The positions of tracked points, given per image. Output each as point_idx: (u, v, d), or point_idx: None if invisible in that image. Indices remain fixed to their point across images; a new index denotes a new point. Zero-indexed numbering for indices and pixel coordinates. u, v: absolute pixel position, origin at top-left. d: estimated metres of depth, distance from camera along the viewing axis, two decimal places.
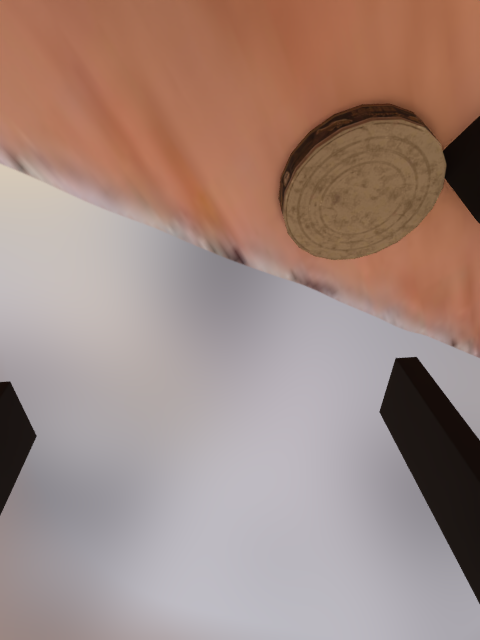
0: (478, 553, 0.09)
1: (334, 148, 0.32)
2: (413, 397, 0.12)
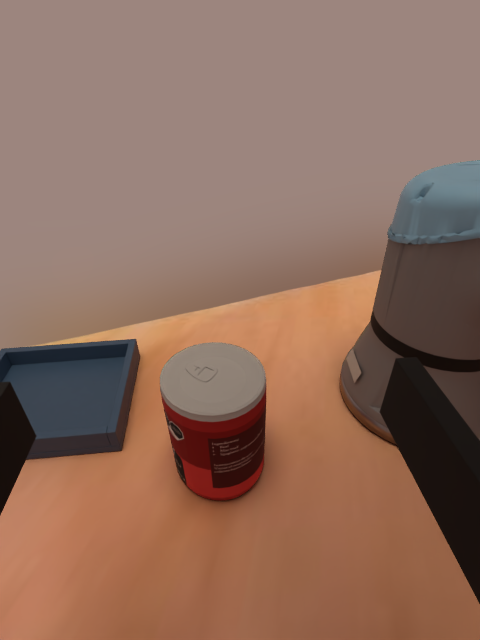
0: (478, 553, 0.09)
1: None
2: (413, 397, 0.12)
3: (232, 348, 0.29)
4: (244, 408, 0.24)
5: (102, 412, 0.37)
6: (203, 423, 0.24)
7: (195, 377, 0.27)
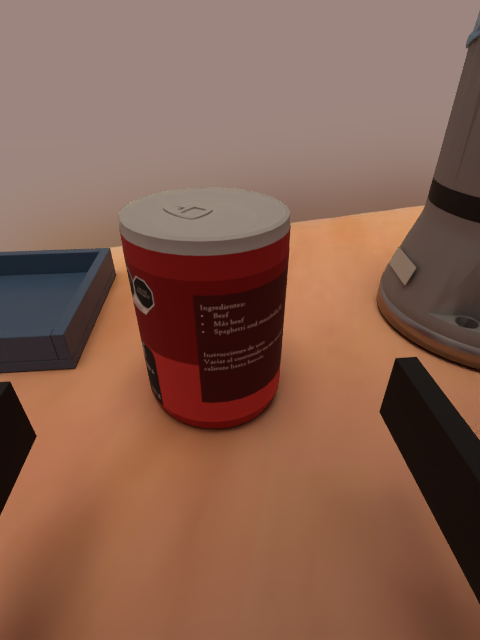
0: (478, 553, 0.09)
1: None
2: (413, 397, 0.12)
3: (236, 192, 0.19)
4: (256, 237, 0.14)
5: (54, 324, 0.27)
6: (185, 261, 0.14)
7: (176, 215, 0.17)
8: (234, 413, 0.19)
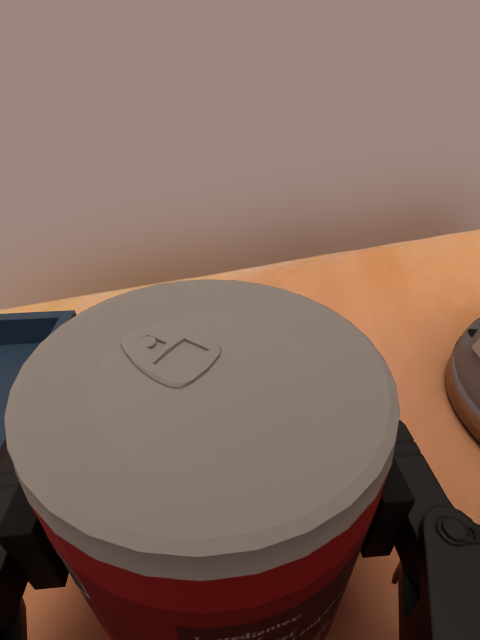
0: None
1: None
2: None
3: (264, 293, 0.10)
4: (347, 510, 0.05)
5: None
6: (153, 584, 0.05)
7: (146, 370, 0.08)
8: None
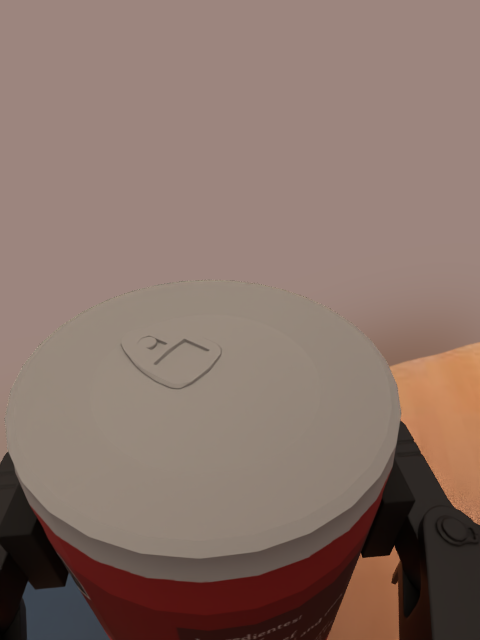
0: None
1: None
2: None
3: (264, 293, 0.10)
4: (348, 511, 0.05)
5: None
6: (155, 585, 0.05)
7: (146, 371, 0.08)
8: None
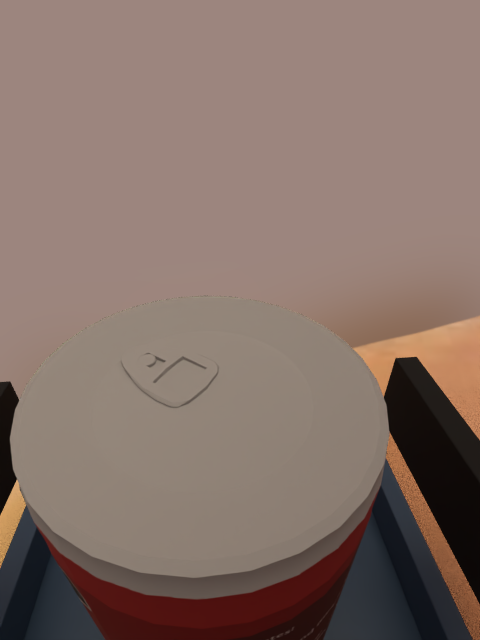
0: (478, 553, 0.09)
1: None
2: (413, 397, 0.12)
3: (261, 310, 0.11)
4: (336, 532, 0.06)
5: None
6: (153, 602, 0.05)
7: (146, 389, 0.08)
8: None
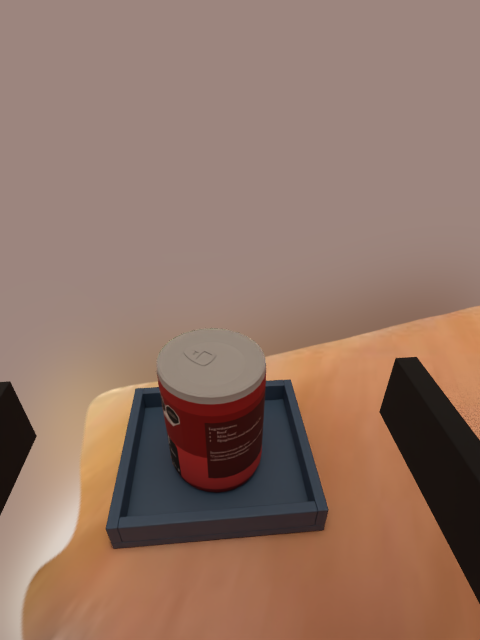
0: (478, 553, 0.09)
1: None
2: (413, 397, 0.12)
3: (232, 334, 0.29)
4: (243, 391, 0.24)
5: (281, 475, 0.31)
6: (201, 406, 0.23)
7: (193, 361, 0.26)
8: (230, 483, 0.28)
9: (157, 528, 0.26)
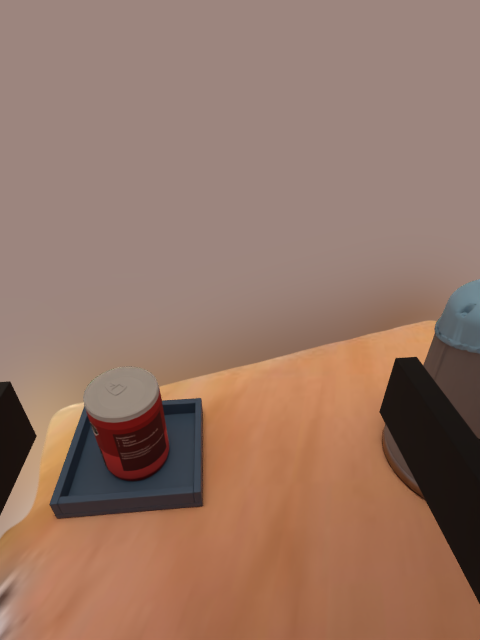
0: (478, 553, 0.09)
1: None
2: (413, 397, 0.12)
3: (141, 371, 0.41)
4: (136, 413, 0.36)
5: (181, 469, 0.43)
6: (107, 423, 0.36)
7: (109, 391, 0.39)
8: (139, 474, 0.41)
9: (84, 504, 0.38)
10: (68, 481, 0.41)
